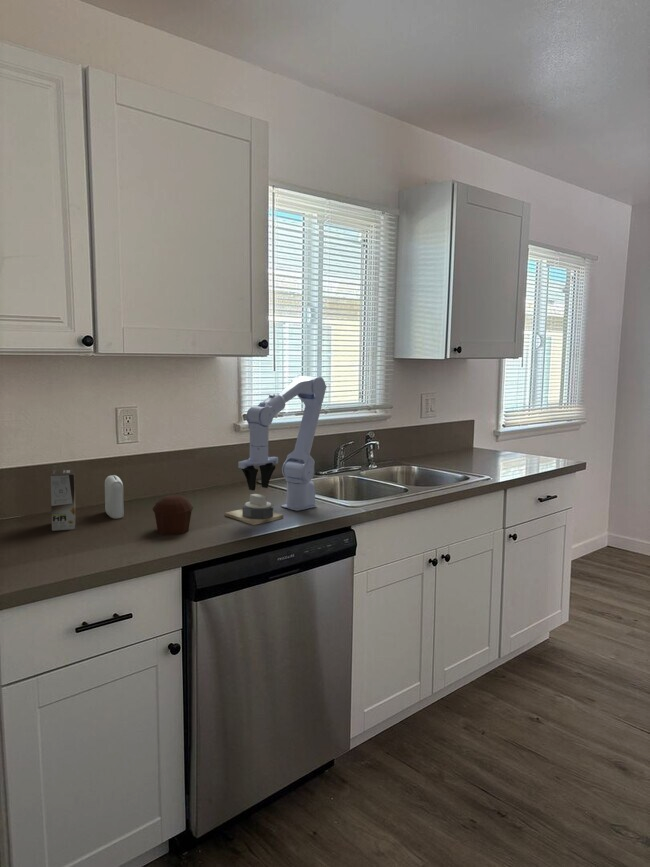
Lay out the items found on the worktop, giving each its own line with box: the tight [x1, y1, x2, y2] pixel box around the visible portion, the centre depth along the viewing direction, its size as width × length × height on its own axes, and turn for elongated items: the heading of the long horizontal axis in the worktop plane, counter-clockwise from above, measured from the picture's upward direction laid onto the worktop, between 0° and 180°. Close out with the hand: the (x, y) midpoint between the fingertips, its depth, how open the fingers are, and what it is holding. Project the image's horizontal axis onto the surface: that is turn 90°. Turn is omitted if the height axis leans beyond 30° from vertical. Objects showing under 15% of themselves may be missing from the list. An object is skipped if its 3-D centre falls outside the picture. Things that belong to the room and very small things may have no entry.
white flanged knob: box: [244, 493, 272, 509], centre depth 204 cm, size 8×8×5 cm
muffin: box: [152, 494, 194, 536], centre depth 189 cm, size 12×11×10 cm
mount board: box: [224, 508, 284, 526], centre depth 206 cm, size 12×14×1 cm
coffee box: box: [49, 468, 76, 532], centre depth 190 cm, size 9×6×16 cm
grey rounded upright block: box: [104, 474, 125, 519], centre depth 204 cm, size 10×4×12 cm, turn 29°
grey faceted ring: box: [242, 503, 274, 519], centre depth 205 cm, size 9×9×3 cm
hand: (258, 488), depth 204 cm, fingers open, 5 cm apart
